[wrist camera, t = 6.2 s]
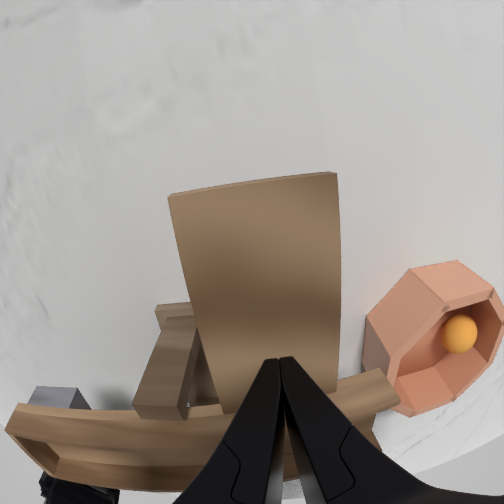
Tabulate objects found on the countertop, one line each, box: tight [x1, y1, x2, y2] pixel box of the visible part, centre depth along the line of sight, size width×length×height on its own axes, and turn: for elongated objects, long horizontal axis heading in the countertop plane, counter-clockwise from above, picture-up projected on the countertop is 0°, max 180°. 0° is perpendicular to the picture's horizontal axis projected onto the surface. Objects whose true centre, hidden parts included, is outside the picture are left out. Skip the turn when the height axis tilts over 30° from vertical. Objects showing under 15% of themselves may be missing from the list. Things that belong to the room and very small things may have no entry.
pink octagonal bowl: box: [361, 260, 504, 418], centre depth 19 cm, size 12×12×5 cm
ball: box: [441, 314, 477, 354], centre depth 19 cm, size 3×3×3 cm
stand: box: [132, 302, 220, 421], centre depth 18 cm, size 11×4×9 cm, turn 7°
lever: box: [5, 172, 401, 492], centre depth 13 cm, size 17×24×5 cm
